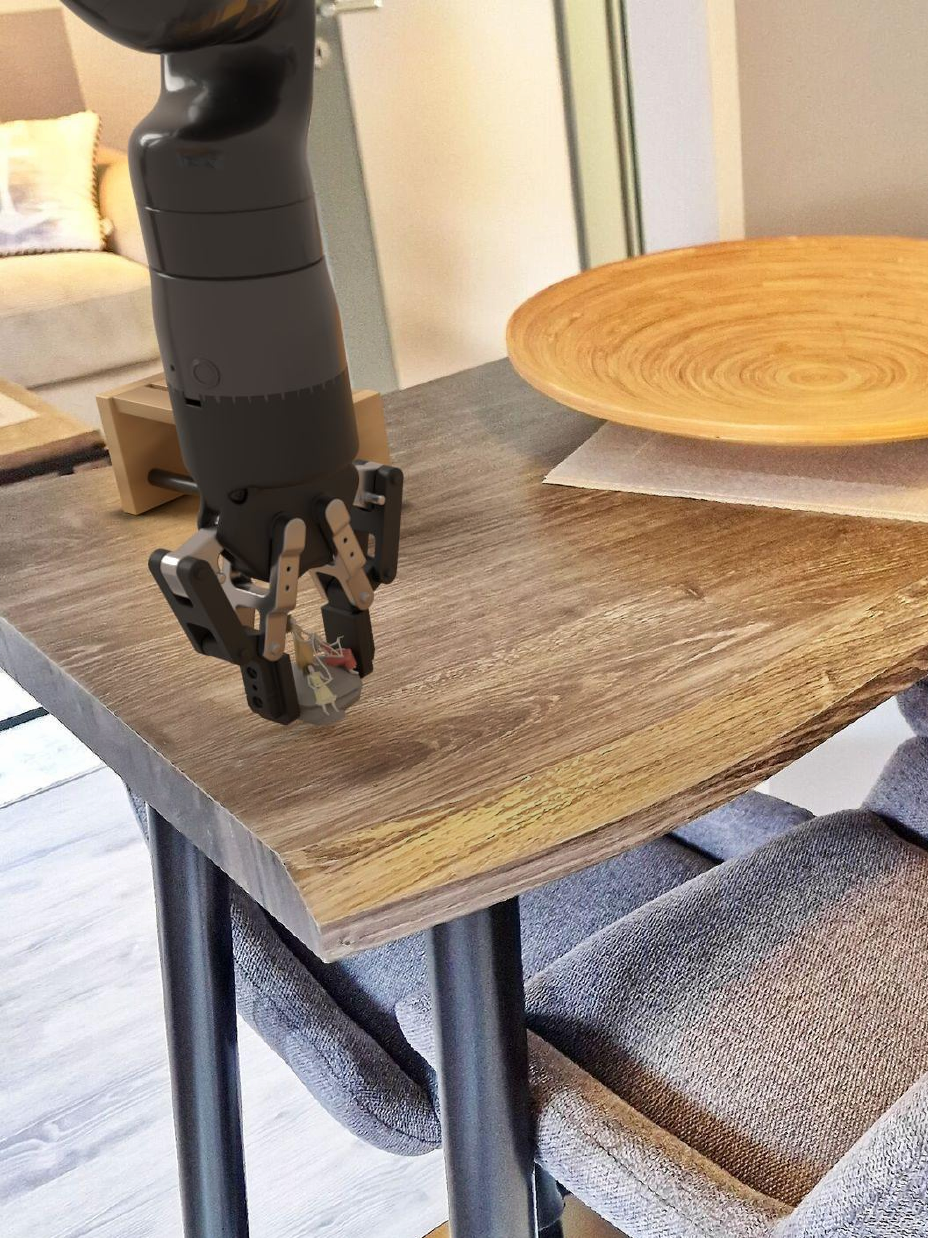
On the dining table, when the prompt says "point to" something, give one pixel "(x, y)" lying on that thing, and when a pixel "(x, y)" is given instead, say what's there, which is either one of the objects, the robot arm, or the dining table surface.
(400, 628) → the dining table surface
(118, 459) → the rack
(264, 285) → the robot arm
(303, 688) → the figurine
